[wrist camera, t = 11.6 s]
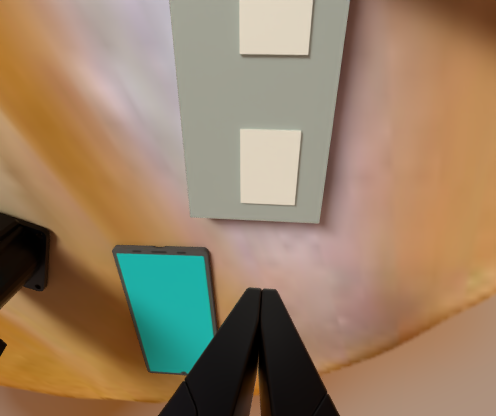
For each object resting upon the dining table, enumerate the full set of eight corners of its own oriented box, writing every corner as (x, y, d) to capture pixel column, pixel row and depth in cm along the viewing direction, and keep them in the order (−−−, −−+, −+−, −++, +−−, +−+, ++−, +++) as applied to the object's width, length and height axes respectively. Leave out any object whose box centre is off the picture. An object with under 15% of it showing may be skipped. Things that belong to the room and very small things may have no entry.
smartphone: (206, 251, 23) (221, 377, 30) (209, 244, 24) (223, 369, 31) (109, 248, 24) (147, 372, 31) (114, 241, 24) (150, 364, 32)
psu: (316, 209, 21) (319, 225, 19) (196, 203, 22) (189, 218, 20) (355, -96, 14) (366, -114, 12) (171, -93, 14) (156, -109, 12)
